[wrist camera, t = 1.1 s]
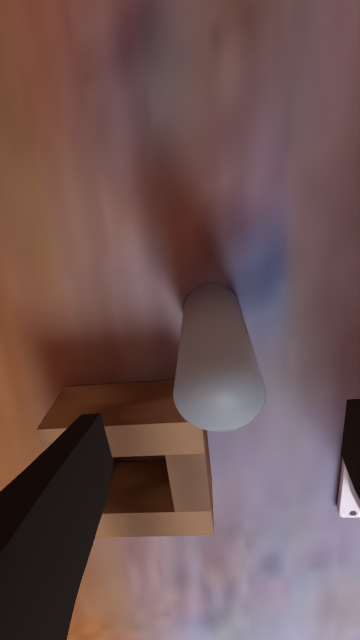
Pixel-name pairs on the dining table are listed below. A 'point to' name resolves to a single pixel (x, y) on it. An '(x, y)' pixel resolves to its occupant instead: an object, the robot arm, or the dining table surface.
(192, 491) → the socket block
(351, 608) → the dining table surface
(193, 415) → the dowel
